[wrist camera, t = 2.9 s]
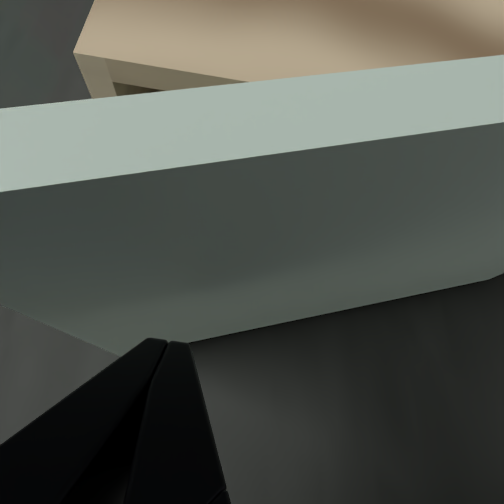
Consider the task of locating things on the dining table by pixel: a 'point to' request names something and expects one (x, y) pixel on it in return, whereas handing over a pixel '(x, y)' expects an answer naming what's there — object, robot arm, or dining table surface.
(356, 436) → the dining table surface
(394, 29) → the crate
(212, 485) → the robot arm
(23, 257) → the flap
